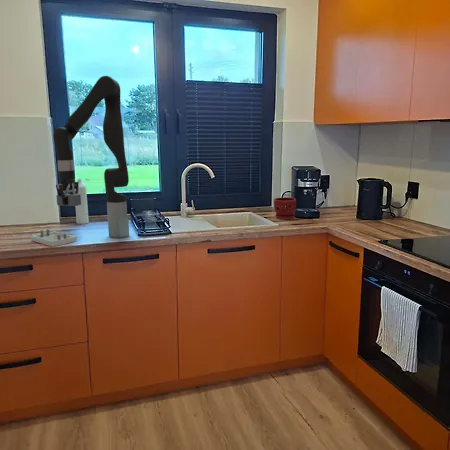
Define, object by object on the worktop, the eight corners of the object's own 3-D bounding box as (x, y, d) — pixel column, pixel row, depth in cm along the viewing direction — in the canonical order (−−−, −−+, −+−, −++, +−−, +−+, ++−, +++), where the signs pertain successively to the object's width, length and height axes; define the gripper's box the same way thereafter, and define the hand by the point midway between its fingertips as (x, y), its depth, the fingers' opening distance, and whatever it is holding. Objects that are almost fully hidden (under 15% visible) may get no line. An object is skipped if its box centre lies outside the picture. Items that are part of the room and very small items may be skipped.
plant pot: (282, 215, 257) (283, 196, 255) (299, 218, 248) (300, 198, 245) (268, 218, 249) (269, 198, 246) (285, 221, 239) (286, 201, 237)
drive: (81, 204, 207) (80, 194, 206) (75, 206, 202) (74, 195, 201) (63, 203, 209) (62, 193, 208) (57, 205, 204) (56, 195, 203)
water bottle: (75, 224, 231) (72, 179, 226) (77, 221, 237) (74, 178, 232) (92, 223, 233) (89, 179, 227) (93, 221, 239) (90, 177, 233)
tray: (76, 241, 194) (75, 232, 193) (52, 246, 185) (51, 237, 184) (55, 235, 205) (54, 227, 204) (31, 240, 196) (30, 231, 195)
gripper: (69, 168, 209) (72, 201, 213) (49, 170, 196) (52, 205, 200) (82, 168, 207) (84, 202, 211) (62, 171, 194) (65, 206, 197)
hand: (69, 203), depth 205 cm, fingers closed on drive, 5 cm apart
